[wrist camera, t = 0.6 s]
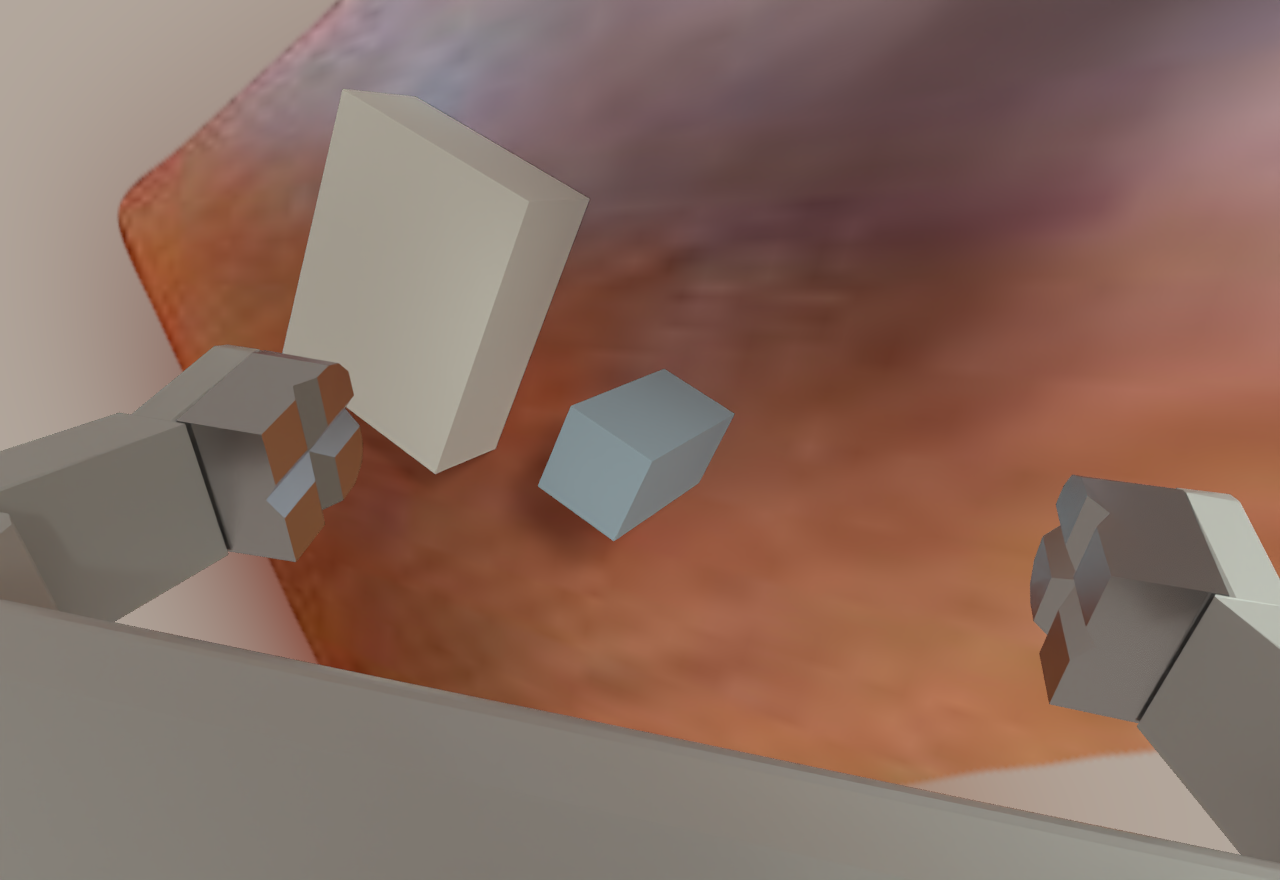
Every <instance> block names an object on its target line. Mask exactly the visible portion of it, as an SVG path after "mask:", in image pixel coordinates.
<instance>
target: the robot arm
mask: <svg viewBox="0 0 1280 880" xmlns="http://www.w3.org/2000/svg"><path fill="white" fill-rule="evenodd" d="M353 396H354V393H353V388H352V384H351V380H350V376H349V371H347V370H346V369H345V368H344V367H343V366H342V365H340V364H339V363H335V362H329V361H323V360H317V359H312V358H306V357H300V356H294V355H289V354H283V353H277V352H271V351H265V350H264V351H261V350H259V349H253V348H246V347H240V346H233V345H220V346H214V347H213V348H211V349H210V350H209V351H208V352H207V353H205V354H204V355H203V356H202V357H200V358H199V359H198V360H197V361H196V362H194V363H193V364H192V365H191V366H189V367H188V368H187V369H186V370H185V371H183V372H182V373H181V374H180V375H179V376H177V377H176V378H175V379H174V380H172V381H171V382H170V383H169V384H168V385H166V386H165V387H164V388H163V389H162V390H160V391H159V392H158V393H157V394H156V395H154V396H153V397H152V398H151V399H150V400H148V401H147V402H146V403H145V404H143V405H142V406H141V407H140V408H138V409H137V410H136V411H135V412H134V413H132V414H123V413H116V414H114V415H110V416H108V417H104V418H101V419H98V420H95V421H92V422H89V423H86V424H83V425H80V426H77V427H73V428H71V429H67V430H64V431H61V432H58V433H55V434H52V435H49V436H46V437H43V438H40V439H37V440H34V441H31V442H28V443H25V444H21V445H19V446H15V447H12V448H9V449H6V450H3V451H0V880H1280V579H1279V577H1278V575H1277V573H1276V571H1275V569H1274V567H1273V565H1272V563H1271V561H1270V559H1269V557H1268V555H1267V554H1266V552H1265V550H1264V548H1263V546H1262V544H1261V542H1260V540H1259V538H1258V536H1257V534H1256V532H1255V530H1254V528H1253V526H1252V524H1251V523H1250V521H1249V519H1248V517H1247V515H1246V513H1245V511H1244V509H1243V507H1242V505H1241V503H1240V502H1239V501H1238V500H1237V499H1236V498H1234V497H1233V496H1231V495H1230V494H1223V493H1215V492H1207V491H1198V490H1190V489H1182V488H1176V489H1173V488H1166V487H1159V486H1151V485H1144V484H1137V483H1129V482H1122V481H1115V480H1108V479H1100V478H1093V477H1086V476H1079V475H1072V476H1071V477H1070V478H1069V480H1068V481H1067V482H1066V484H1065V485H1064V486H1063V489H1062V491H1061V494H1060V496H1059V498H1058V501H1057V503H1056V507H1057V512H1058V516H1059V520H1060V524H1061V525H1060V526H1059V527H1057V528H1055V529H1054V530H1052V531H1051V532H1049V533H1047V534H1046V535H1044V536H1043V537H1042V540H1041V543H1040V546H1039V548H1038V551H1037V554H1036V557H1035V559H1034V565H1033V570H1032V576H1031V582H1030V603H1031V609H1032V615H1033V621H1034V622H1035V623H1036V624H1037V625H1038V626H1039V627H1040V628H1041V629H1042V630H1043V631H1044V632H1045V633H1046V634H1047V637H1046V639H1045V642H1044V644H1043V646H1042V648H1041V651H1040V653H1039V654H1040V659H1041V664H1042V669H1043V674H1044V680H1045V685H1046V690H1047V695H1048V700H1049V704H1051V705H1056V706H1061V707H1065V708H1070V709H1075V710H1079V711H1084V712H1089V713H1093V714H1098V715H1103V716H1107V717H1112V718H1117V719H1121V720H1126V721H1131V722H1135V723H1139V724H1138V725H1137V727H1138V729H1139V730H1140V731H1141V732H1142V734H1143V735H1144V736H1145V737H1146V739H1147V740H1148V741H1149V742H1150V743H1151V745H1152V746H1153V747H1154V748H1155V750H1156V751H1157V752H1158V753H1159V755H1160V756H1161V757H1162V758H1163V759H1164V761H1165V762H1166V763H1167V764H1168V766H1169V767H1170V768H1171V769H1172V770H1173V772H1174V773H1175V774H1176V775H1177V777H1178V778H1179V779H1180V780H1181V781H1182V783H1183V784H1184V785H1185V786H1186V788H1187V789H1188V790H1189V791H1190V793H1191V794H1192V795H1193V796H1194V798H1195V799H1196V800H1197V801H1198V802H1199V804H1200V805H1201V806H1202V807H1203V809H1204V810H1205V811H1206V812H1207V814H1208V815H1209V816H1210V817H1211V818H1212V820H1213V821H1214V822H1215V823H1216V825H1217V826H1218V827H1219V828H1220V830H1221V831H1222V832H1223V833H1224V834H1225V836H1226V837H1227V838H1228V839H1229V841H1230V842H1231V843H1232V844H1233V845H1234V847H1235V848H1236V849H1237V850H1238V852H1239V853H1240V854H1241V855H1239V854H1233V853H1229V852H1224V851H1219V850H1214V849H1209V848H1205V847H1199V846H1194V845H1190V844H1185V843H1180V842H1176V841H1171V840H1165V839H1161V838H1156V837H1151V836H1146V835H1142V834H1137V833H1132V832H1127V831H1122V830H1117V829H1111V828H1107V827H1102V826H1097V825H1092V824H1087V823H1083V822H1078V821H1073V820H1068V819H1063V818H1058V817H1053V816H1048V815H1043V814H1038V813H1034V812H1028V811H1024V810H1019V809H1014V808H1009V807H1004V806H999V805H994V804H990V803H984V802H980V801H975V800H970V799H965V798H961V797H956V796H951V795H946V794H941V793H936V792H932V791H927V790H922V789H918V788H913V787H908V786H903V785H898V784H894V783H889V782H884V781H879V780H874V779H870V778H865V777H860V776H855V775H850V774H846V773H841V772H836V771H831V770H826V769H822V768H817V767H812V766H807V765H802V764H798V763H793V762H788V761H783V760H778V759H774V758H769V757H764V756H759V755H754V754H750V753H745V752H740V751H735V750H731V749H726V748H721V747H716V746H711V745H707V744H702V743H697V742H692V741H687V740H683V739H678V738H673V737H668V736H663V735H658V734H653V733H649V732H644V731H639V730H634V729H629V728H624V727H619V726H615V725H610V724H605V723H600V722H595V721H590V720H585V719H581V718H576V717H571V716H566V715H561V714H556V713H551V712H547V711H542V710H537V709H532V708H527V707H522V706H517V705H513V704H508V703H503V702H498V701H493V700H488V699H483V698H479V697H474V696H469V695H464V694H459V693H454V692H449V691H445V690H440V689H435V688H430V687H425V686H420V685H415V684H411V683H406V682H401V681H396V680H391V679H386V678H381V677H377V676H372V675H367V674H362V673H357V672H352V671H348V670H343V669H338V668H333V667H328V666H323V665H319V664H313V663H309V662H304V661H299V660H294V659H289V658H285V657H280V656H274V655H270V654H265V653H260V652H255V651H251V650H246V649H241V648H236V647H231V646H227V645H221V644H217V643H212V642H207V641H202V640H198V639H193V638H188V637H183V636H178V635H173V634H168V633H164V632H159V631H154V630H149V629H144V628H139V627H135V626H129V625H125V624H120V623H115V621H117V620H118V619H120V618H122V617H124V616H125V615H127V614H128V613H130V612H132V611H134V610H135V609H137V608H139V607H140V606H142V605H144V604H145V603H147V602H149V601H151V600H152V599H154V598H156V597H158V596H159V595H161V594H163V593H164V592H166V591H168V590H169V589H171V588H173V587H174V586H176V585H178V584H180V583H181V582H183V581H185V580H186V579H188V578H190V577H191V576H193V575H195V574H197V573H198V572H200V571H201V570H203V569H205V568H207V567H208V566H210V565H212V564H213V563H215V562H217V561H219V560H220V559H222V558H224V557H225V556H227V555H228V551H230V552H236V553H243V554H249V555H255V556H262V557H268V558H274V559H280V560H287V561H293V562H297V560H298V559H299V558H300V556H301V555H302V554H303V552H304V551H305V550H306V549H307V547H308V546H309V545H310V543H311V542H312V541H313V539H314V538H315V537H316V535H317V534H318V533H319V532H320V530H321V529H322V528H323V526H324V525H325V521H324V517H323V512H322V510H323V509H325V508H327V507H329V506H332V505H334V504H336V503H338V502H340V501H342V500H344V498H345V497H346V496H347V494H348V493H349V491H350V490H351V489H352V487H353V486H354V484H355V482H356V479H357V476H358V473H359V470H360V467H361V464H362V454H363V441H362V435H361V429H360V426H359V424H358V423H357V422H356V421H355V420H354V418H353V417H352V416H351V415H350V414H349V413H348V411H347V410H346V409H345V408H346V406H347V405H348V403H349V402H350V401H351V399H352V398H353Z"/></svg>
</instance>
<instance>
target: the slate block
mask: <svg viewBox="0 0 1280 880" xmlns="http://www.w3.org/2000/svg"><path fill="white" fill-rule="evenodd" d="M733 416H734V413H733V412H731V411H729V410H728V409H726V408H725V407H723V406H722V405H720V404H718V403H717V402H715V401H714V400H712V399H711V398H709V397H708V396H706V395H704V394H703V393H701V392H700V391H698V390H697V389H695V388H693V387H692V386H690V385H689V384H687V383H686V382H684V381H682V380H681V379H679V378H678V377H676V376H675V375H673V374H672V373H670V372H668V371H667V370H665V369H662V370H660V371H657V372H655V373H652V374H650V375H647V376H645V377H642V378H640V379H637V380H635V381H632V382H630V383H627V384H625V385H622V386H620V387H617V388H615V389H612V390H610V391H607V392H605V393H602V394H600V395H597V396H595V397H592V398H590V399H587V400H585V401H582V402H580V403H577V404H575V405H572V406H571V407H570V410H569V412H568V414H567V417H566V419H565V422H564V424H563V426H562V429H561V431H560V434H559V436H558V438H557V441H556V443H555V446H554V448H553V451H552V453H551V455H550V458H549V460H548V463H547V465H546V467H545V470H544V472H543V475H542V477H541V479H540V482H539V484H538V487H540V488H541V489H542V490H544V491H545V492H547V493H548V494H549V495H551V496H552V497H553V498H555V499H556V500H558V501H559V502H560V503H562V504H563V505H564V506H566V507H567V508H569V509H570V510H571V511H573V512H574V513H576V514H577V515H578V516H580V517H581V518H582V519H584V520H585V521H587V522H588V523H589V524H591V525H592V526H593V527H595V528H596V529H598V530H599V531H600V532H602V533H603V534H605V535H606V536H607V537H609V538H610V539H611V540H613V541H615V540H616V539H618V538H619V537H621V536H622V535H624V534H625V533H627V532H628V531H630V530H631V529H633V528H634V527H635V526H637V525H638V524H640V523H641V522H643V521H644V520H646V519H647V518H649V517H650V516H652V515H653V514H654V513H656V512H657V511H659V510H660V509H662V508H663V507H665V506H666V505H668V504H669V503H670V502H672V501H673V500H675V499H676V498H678V497H679V496H681V495H682V494H684V493H685V492H687V491H688V490H689V489H691V488H692V487H694V486H695V485H697V484H698V483H699V482H700V480H701V478H702V476H703V474H704V472H705V470H706V468H707V466H708V464H709V463H710V461H711V459H712V457H713V455H714V453H715V451H716V449H717V447H718V445H719V443H720V441H721V439H722V437H723V435H724V434H725V432H726V430H727V428H728V426H729V424H730V422H731V420H732V418H733Z"/></svg>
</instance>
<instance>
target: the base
mask: <svg viewBox="0 0 1280 880" xmlns="http://www.w3.org/2000/svg"><path fill="white" fill-rule="evenodd" d="M589 200H590V199H589V198H587V197H586V196H584V195H582V194H581V193H579V192H577V191H575V190H574V189H572V188H570V187H569V186H567V185H565V184H564V183H562V182H560V181H558V180H557V179H555V178H553V177H552V176H550V175H548V174H546V173H545V172H543V171H541V170H540V169H538V168H536V167H535V166H533V165H531V164H529V163H528V162H526V161H524V160H523V159H521V158H519V157H518V156H516V155H514V154H512V153H511V152H509V151H507V150H506V149H504V148H502V147H501V146H499V145H497V144H495V143H494V142H492V141H490V140H489V139H487V138H485V137H483V136H482V135H480V134H478V133H477V132H475V131H473V130H472V129H470V128H468V127H466V126H465V125H463V124H461V123H460V122H458V121H456V120H455V119H453V118H451V117H449V116H448V115H446V114H444V113H443V112H441V111H439V110H437V109H436V108H434V107H432V106H431V105H429V104H427V103H426V102H424V101H422V100H420V99H419V98H417V97H414V96H404V95H395V94H386V93H376V92H367V91H358V90H348V89H342V94H341V98H340V102H339V107H338V111H337V116H336V120H335V124H334V129H333V133H332V138H331V142H330V146H329V151H328V155H327V159H326V164H325V168H324V173H323V177H322V181H321V186H320V190H319V195H318V199H317V203H316V208H315V212H314V216H313V221H312V225H311V230H310V234H309V238H308V243H307V247H306V251H305V256H304V260H303V265H302V269H301V273H300V278H299V282H298V287H297V291H296V295H295V300H294V304H293V308H292V313H291V317H290V322H289V326H288V330H287V335H286V339H285V343H284V348H283V352H282V353H283V354H289V355H294V356H300V357H306V358H312V359H317V360H323V361H329V362H335V363H339V364H340V365H342V366H343V367H344V368H345V369H346V370H347V371H349V376H350V380H351V384H352V388H353V393H354V396H353V398H352V399H351V401H350V402H349V403H348V405H347V406H346V407H347V408H348V409H349V410H351V411H352V412H353V413H355V414H356V415H357V416H359V417H360V418H361V419H363V420H364V421H365V422H367V423H368V424H369V425H371V426H372V427H373V428H375V429H376V430H377V431H379V432H380V433H381V434H383V435H384V436H385V437H387V438H388V439H389V440H391V441H392V442H393V443H395V444H396V445H397V446H399V447H400V448H401V449H403V450H404V451H405V452H406V453H408V454H409V455H410V456H412V457H413V458H414V459H416V460H417V461H418V462H420V463H421V464H422V465H424V466H425V467H426V468H428V469H429V470H430V471H432V472H433V473H434V474H437V473H439V472H441V471H444V470H446V469H449V468H451V467H453V466H456V465H458V464H461V463H463V462H465V461H468V460H470V459H472V458H475V457H477V456H480V455H482V454H484V453H487V452H489V451H491V450H494V449H496V446H497V443H498V441H499V438H500V435H501V433H502V430H503V428H504V425H505V422H506V420H507V417H508V414H509V412H510V409H511V406H512V404H513V401H514V398H515V396H516V393H517V390H518V388H519V385H520V382H521V380H522V377H523V375H524V372H525V369H526V367H527V364H528V361H529V359H530V356H531V353H532V351H533V348H534V345H535V343H536V340H537V337H538V335H539V332H540V330H541V327H542V324H543V322H544V319H545V316H546V314H547V311H548V308H549V306H550V303H551V300H552V298H553V295H554V292H555V290H556V287H557V284H558V282H559V279H560V277H561V274H562V271H563V269H564V266H565V263H566V261H567V258H568V255H569V253H570V250H571V247H572V245H573V242H574V239H575V237H576V234H577V231H578V229H579V226H580V224H581V221H582V218H583V216H584V213H585V210H586V208H587V205H588V202H589Z"/></svg>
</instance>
